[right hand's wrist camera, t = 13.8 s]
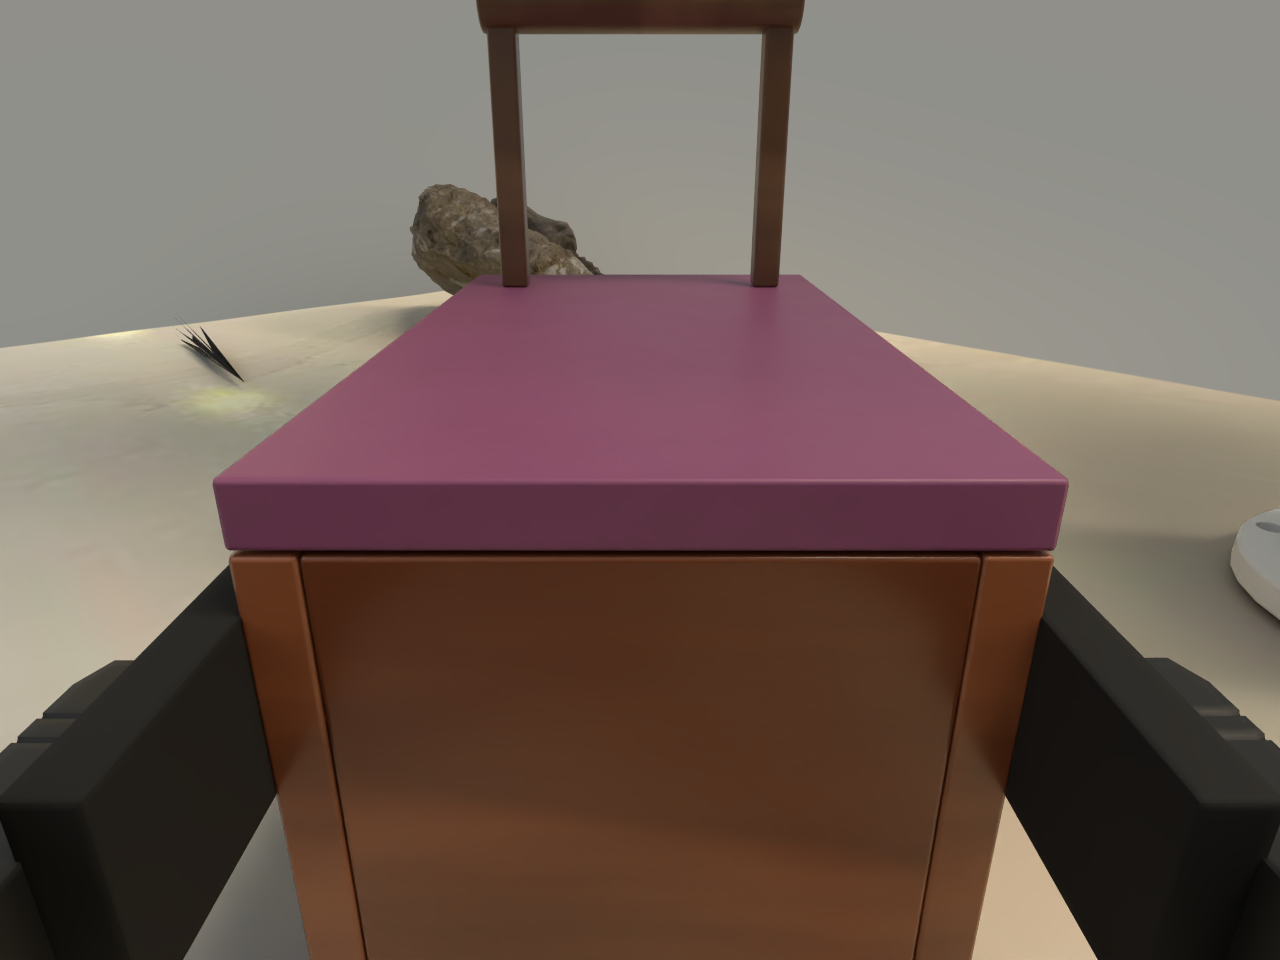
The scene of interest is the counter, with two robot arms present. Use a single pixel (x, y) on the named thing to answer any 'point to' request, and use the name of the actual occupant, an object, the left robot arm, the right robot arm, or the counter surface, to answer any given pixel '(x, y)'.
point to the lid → (640, 391)
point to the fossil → (483, 240)
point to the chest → (640, 747)
